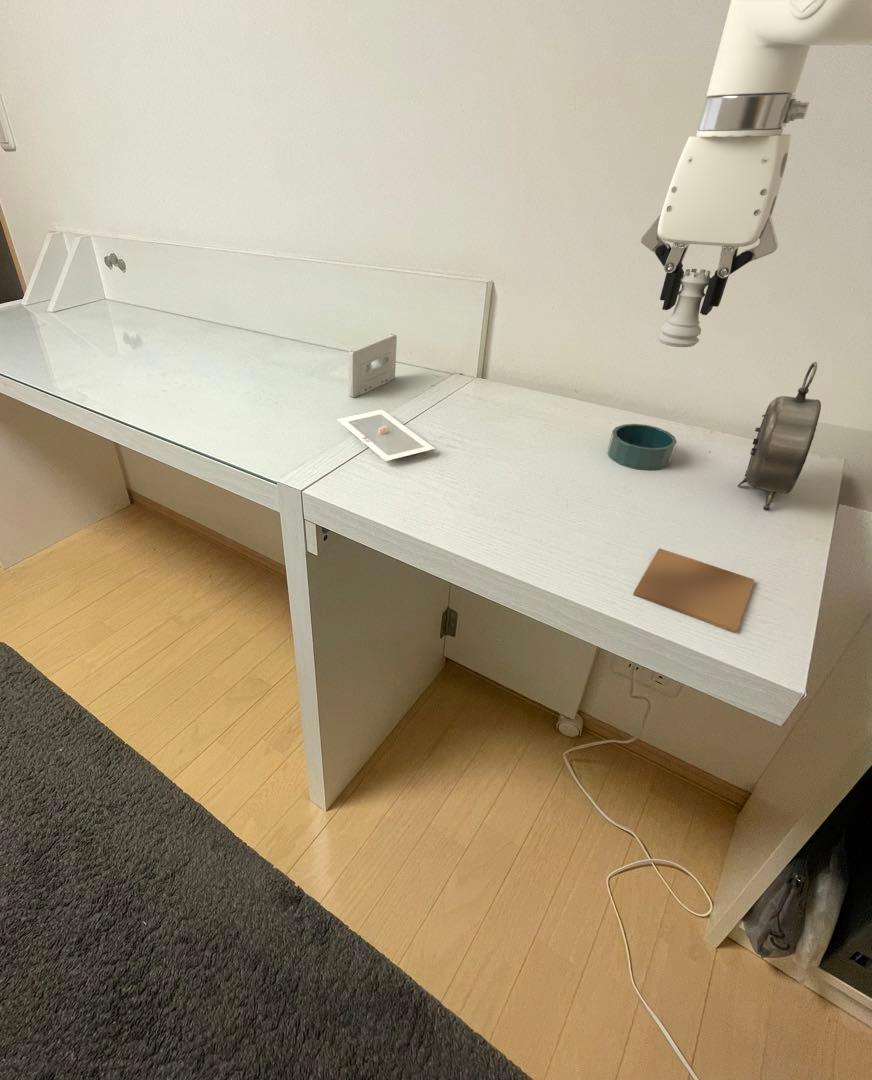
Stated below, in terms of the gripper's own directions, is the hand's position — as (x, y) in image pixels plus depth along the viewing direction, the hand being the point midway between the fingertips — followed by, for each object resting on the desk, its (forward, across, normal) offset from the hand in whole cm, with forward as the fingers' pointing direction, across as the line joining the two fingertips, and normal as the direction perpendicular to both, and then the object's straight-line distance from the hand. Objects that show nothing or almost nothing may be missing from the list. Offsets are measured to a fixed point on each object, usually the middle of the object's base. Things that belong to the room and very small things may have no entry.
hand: (687, 308), depth 71 cm
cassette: (+19, +45, -1) cm, 49 cm away
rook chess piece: (+4, 0, 0) cm, 4 cm away
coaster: (+20, -12, +25) cm, 34 cm away
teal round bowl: (+20, +1, -1) cm, 20 cm away
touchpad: (+20, +32, +15) cm, 40 cm away
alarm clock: (+20, -14, 0) cm, 24 cm away
